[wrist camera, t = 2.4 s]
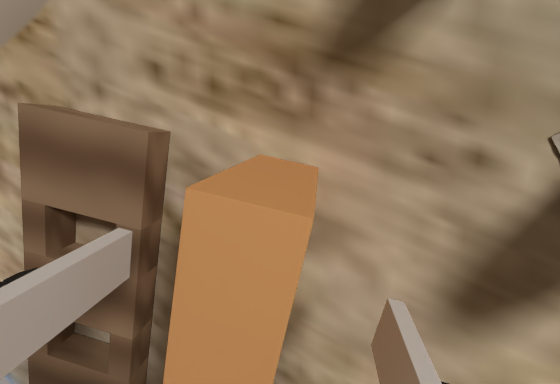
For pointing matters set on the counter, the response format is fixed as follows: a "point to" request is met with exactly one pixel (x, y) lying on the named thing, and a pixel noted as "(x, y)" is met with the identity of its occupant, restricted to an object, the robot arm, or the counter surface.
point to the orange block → (239, 271)
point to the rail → (101, 205)
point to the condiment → (556, 141)
